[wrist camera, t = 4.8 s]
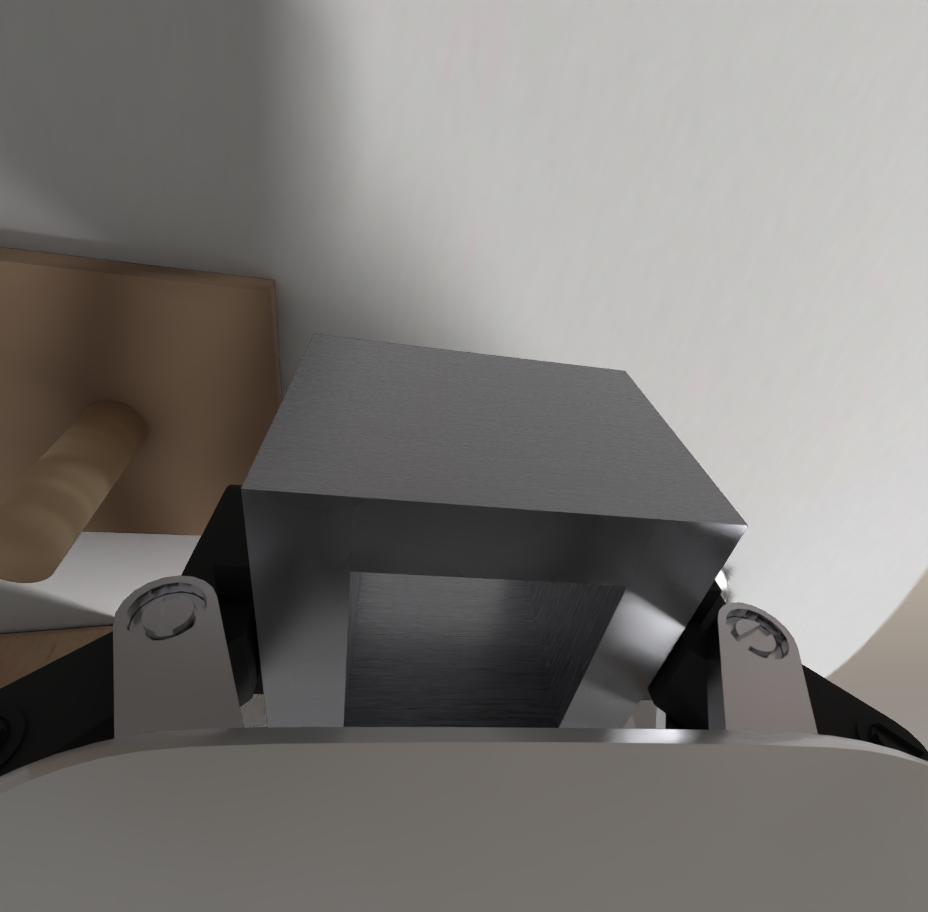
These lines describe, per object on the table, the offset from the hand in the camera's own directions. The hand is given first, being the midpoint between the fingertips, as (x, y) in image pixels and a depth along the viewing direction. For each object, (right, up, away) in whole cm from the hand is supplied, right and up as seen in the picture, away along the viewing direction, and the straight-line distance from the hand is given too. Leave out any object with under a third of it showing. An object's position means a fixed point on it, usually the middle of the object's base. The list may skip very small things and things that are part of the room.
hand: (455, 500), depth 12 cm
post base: (-13, +3, +9) cm, 16 cm away
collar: (0, 0, +1) cm, 1 cm away
